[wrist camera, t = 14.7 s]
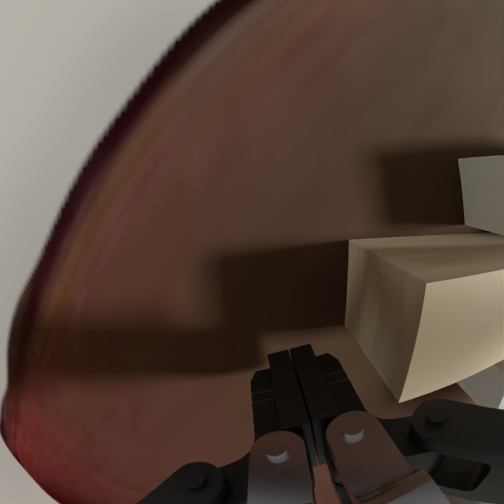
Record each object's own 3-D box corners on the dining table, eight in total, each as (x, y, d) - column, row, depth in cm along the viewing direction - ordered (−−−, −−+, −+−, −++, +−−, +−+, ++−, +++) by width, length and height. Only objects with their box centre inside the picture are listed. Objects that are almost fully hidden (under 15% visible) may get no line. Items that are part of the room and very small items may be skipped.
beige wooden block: (512, 287, 11) (567, 317, 6) (343, 323, 11) (398, 402, 6) (520, 230, 10) (581, 250, 6) (347, 239, 10) (426, 283, 5)
